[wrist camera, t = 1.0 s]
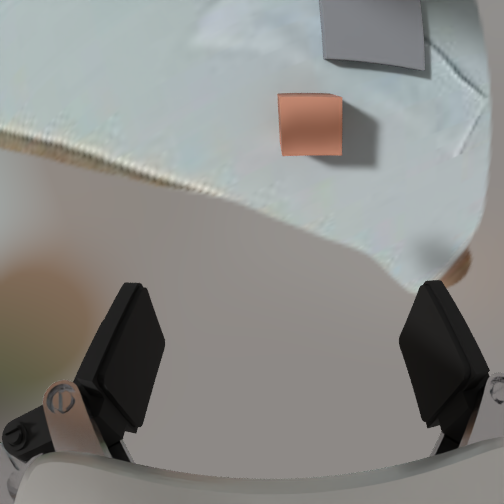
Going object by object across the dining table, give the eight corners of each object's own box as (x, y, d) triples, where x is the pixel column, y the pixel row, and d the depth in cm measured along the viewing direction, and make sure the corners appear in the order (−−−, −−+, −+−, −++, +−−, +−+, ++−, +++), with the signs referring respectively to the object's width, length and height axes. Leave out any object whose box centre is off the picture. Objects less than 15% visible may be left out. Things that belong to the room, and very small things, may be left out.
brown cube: (277, 93, 25) (279, 96, 21) (329, 93, 25) (342, 97, 20) (280, 142, 28) (282, 156, 24) (330, 142, 27) (341, 155, 23)
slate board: (313, -45, 16) (315, -51, 15) (408, -29, 15) (414, -33, 14) (323, 59, 23) (326, 58, 21) (418, 70, 22) (424, 70, 21)
